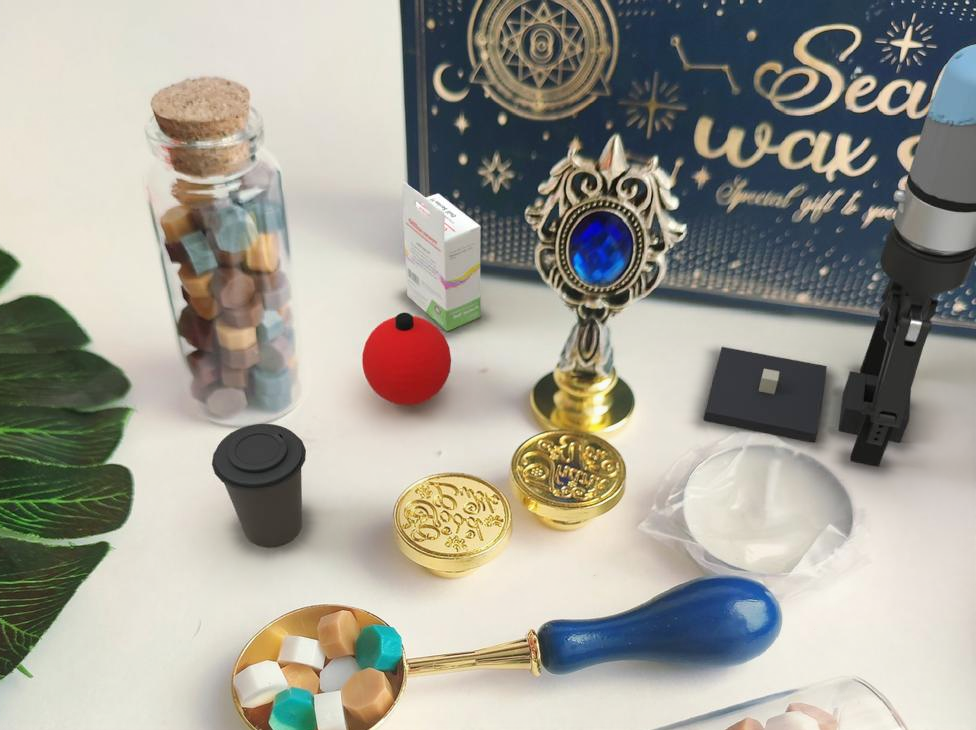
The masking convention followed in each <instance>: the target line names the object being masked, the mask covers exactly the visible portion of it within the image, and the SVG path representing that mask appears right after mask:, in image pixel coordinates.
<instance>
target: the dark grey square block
mask: <svg viewBox="0 0 976 730" xmlns="http://www.w3.org/2000/svg"><path fill="white" fill-rule="evenodd" d="M878 379H879V376H873V375H868V374H867V375H866V374H863V373H860V372H858V371H853V370H852V371H851V370H850V371H849V374H848V377H847V380H846V382H845V386H844V388H843V392H842V398H841V406H840V414H839V422H838V432H844V433H849V434H854V435H858V433H859V431H860V428H861V425H862V422H863V420H864V417H865V414H863V413H862V407H868V406H869V405H872V402H873V398H874V394H875V390H876V386H877V382H878ZM911 396H912V389H911V390H910V394H909V397H908V400H907V404H906V407H905V410H904V414H903V417H902V419H903V421H902V424H901V425H900V427H899V428H898V427H894V429H893V431H892V434H891V436H890V439H889V441H890V442H894V443H901V442H902V440H903V437H904V435H905V432H906V429H907V428H908V424H909V422H910V413H911V412H910V411H911V398H912V397H911Z"/></svg>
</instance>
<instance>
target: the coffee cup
mask: <svg viewBox="0 0 976 730" xmlns="http://www.w3.org/2000/svg"><path fill="white" fill-rule="evenodd" d="M306 455H307V449H306V446H305V445H304V442H303V440H302V439H301V438H300V437H299V436H298V435H297V434H296V433H295V432H294V431H292V430H290V429H288V428H286V427H284V426H281V425H278V424H273V423H256V424H250V425H246V426H243V427H240V428H238V429H235V430H234V431H232V432H231V433H228V434H227V435H226V436H225V437H223V439H222V440H221V441H220V442H219V444H218V445H217V447H216V449H215V451H214V452H213V454H212V461H211V466H212V469H213V471H214V474H215V475H216V477H217V478H218V479H219V480H220V481H221V482H222V483H223V484H224V486H225V489H226V491H227V493H228V496H229V498H230V501H231V503H232V505H233V508H234V511H235V514H236V515H237V518H238V520H239V523H240V526H241V527H242V530H243V533H244V535H245V537H246V538H247V539H248V541H249V542H251V543H253V544H254V545H256V546H259V547H263V548H277V547H281V546H284V545H286V544H288V543H290V542H292V541H293V540H294V539H296V537H297V536H298V535H299V534H300V533H301V530H302V526H303V501H302V500H303V496H302V495H303V488H302V487H303V483H302V467H303V466H304V464H305V462H306Z"/></svg>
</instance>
